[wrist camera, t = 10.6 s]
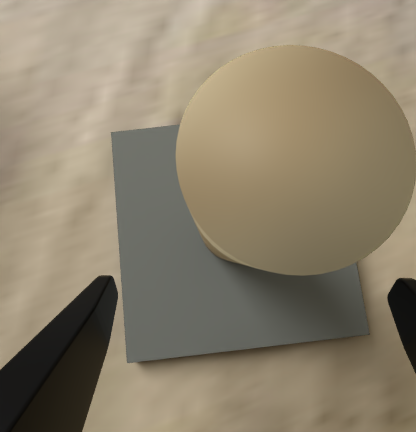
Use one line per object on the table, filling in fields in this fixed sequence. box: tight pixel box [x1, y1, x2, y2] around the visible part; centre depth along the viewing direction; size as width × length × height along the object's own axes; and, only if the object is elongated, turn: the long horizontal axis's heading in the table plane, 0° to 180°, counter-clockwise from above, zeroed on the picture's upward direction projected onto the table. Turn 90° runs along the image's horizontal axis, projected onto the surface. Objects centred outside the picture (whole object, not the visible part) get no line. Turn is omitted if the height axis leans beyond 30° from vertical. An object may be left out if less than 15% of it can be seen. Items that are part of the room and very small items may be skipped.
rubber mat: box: [111, 125, 370, 363], centre depth 18 cm, size 14×14×1 cm
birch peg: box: [176, 45, 416, 276], centre depth 11 cm, size 4×4×12 cm
